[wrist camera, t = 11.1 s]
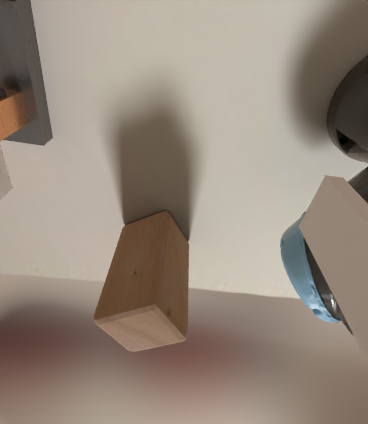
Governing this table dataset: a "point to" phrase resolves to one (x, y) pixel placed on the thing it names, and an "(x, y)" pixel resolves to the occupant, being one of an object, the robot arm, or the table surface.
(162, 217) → the wooden block
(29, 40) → the rail
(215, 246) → the table surface
